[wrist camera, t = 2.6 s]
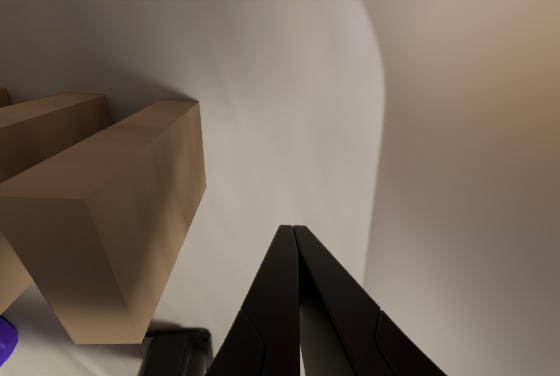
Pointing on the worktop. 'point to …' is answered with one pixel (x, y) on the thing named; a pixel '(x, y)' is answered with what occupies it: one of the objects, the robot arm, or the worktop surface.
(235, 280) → the worktop surface
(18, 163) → the domino
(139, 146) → the domino
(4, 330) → the bottle
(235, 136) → the worktop surface
